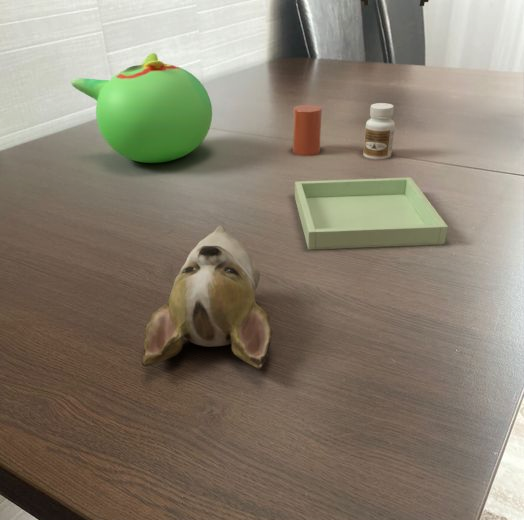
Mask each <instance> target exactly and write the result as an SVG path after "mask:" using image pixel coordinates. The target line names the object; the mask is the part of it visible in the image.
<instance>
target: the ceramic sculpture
mask: <svg viewBox="0 0 524 520" xmlns="http://www.w3.org/2000/svg"><path fill="white" fill-rule="evenodd" d="M260 278H261V273H260V268H259V267H258V266H257V265H256V263H255V262H254V260H253V258H252V256H251V255H250V253H249V252H248V251H247V249H246V248H245V247H244V246H243V245H242V243H241V242H240V241H239V240H238V239H237V238H235V237H234V235H233V236H232V234H230V232H228V231H227V229H226V228H225V227H224V226H223V225H218V226H217V227H216V228H215V230H214V231H212V232H211V233H210V234H208V235H207V236H205V238H202V239H201V240H200V241H199V242H198V243H197V245H196V246H195V247H194V248H193V249H192V250H191V251H190V252H189V254H188V256H187V258H186V260H185V262H184V263H183V265H182V267H181V268H180V271H179V273H178V274H177V276H176V277H175V279H174V281H173V286H172V289H171V291H170V295H169V299H168V301H167V303H165V304H164V305H163V306H161V307H158V309H156V310H155V311H154V312H153V313H152V314H151V316H150V319H149V322H148V323H147V325H146V326H145V329H144V339H143V341H144V342H143V353H142V355H143V357H142V359H141V365H142V366H143V367H150V366H153V365H155V364H159V363H161V362H164V361H166V360H169V359H171V358H173V357H176V356H177V355H178V354H179V353H180V352H181V351H182V349H183V346H184V340H185V339H186V340H187V341H189V342H190V343H192V344H194V345H197V346H202V347H207V348H208V347H209V348H211V347H213V348H214V347H223V346H228V345H231V351H232V353H233V355H234V356H235V357H237V358H239V359H240V360H242V361H243V362H245V363H246V364H249V366H252V367H254V368H255V369H257V370H260V369H262V367H263V366H264V364H265V362H266V361H267V359H268V357H269V354H270V350H271V349H270V347H271V343H272V337H273V328H272V326H271V322H270V321H271V318H270V316H269V314H268V312H266V310H265V309H263V307H261V306H260V305H258V304H257V302H256V299H255V296H256V290H257V288H258V286H259V282H260Z"/></svg>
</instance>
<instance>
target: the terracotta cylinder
mask: <svg viewBox="0 0 524 520" xmlns="http://www.w3.org/2000/svg"><path fill="white" fill-rule="evenodd" d="M322 108H323V107H322V106H319V105H315V104H300V105H296V106H293V113H292V114H293V124H292V153H293V154H295V155H297V156H302V157H303V156H304V157H305V156H306V157H307V156H310V157H311V156H315V155H318V154H319V153H320V152H321V138H322V137H321V135H322V110H323V109H322Z"/></svg>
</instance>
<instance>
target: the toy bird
mask: <svg viewBox="0 0 524 520" xmlns="http://www.w3.org/2000/svg"><path fill="white" fill-rule="evenodd" d="M70 84H71V86H72V87H73V88H75V89H76V90H77V91H79V92H81V93H83V94H85V95H86V96H88V97H90V98H92V99H94V100H95V101H97V102H96V107H95V108H96V109H95V116H96V122H97V126H98V129H99V131H100V134H101V135H102V137H103V139H104V140H105V142H106V143H107V144H108V145H109V147H110V148H111V149H112V150H114V152H116V153H117V154H119V155H120V156H122V157H124V158H126V159H128V160H131V161H133V162H137V163H144V164H160V163H167V162H172V161H175V160H177V159H180V158H182V157H184V156H187V155H189V154H190V153H192V152H193V151H194V150H195V149H197V148H198V147H199V146H200V145H201V144H202V143H203V141H204V140H205V139H206V138H207V136H208V134H209V131H210V128H211V125H212V118H213V107H212V106H213V105H212V101H211V98H210V96H209V93H208V92H207V90H206V88H205V86H204V85H203V83H201V81H200V80H199V79H198V78H197V77H196V76H195V75H194V74H192V73H191V72H190V71H188V70H187V69H184V68H182V67H180V66H176V65H174V64H169V63H164V62H163V61H161V60H159V58H158V55H157V54H156V53H154V52H153V53H150V54H148V56H146V57H145V58H144V60H143V61H142V62H141V64H138V65H137V64H136V65H132V66H129V67H127V68H126V69H124V70H122V71H120V72H118V73H117V74H115V75H114V76H112V77H111V78H109V79H108V80H107V79H96V78H74V79H72V80H71V81H70Z"/></svg>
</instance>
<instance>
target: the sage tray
mask: <svg viewBox="0 0 524 520" xmlns="http://www.w3.org/2000/svg"><path fill="white" fill-rule="evenodd" d="M294 200H295V203H296V207H297V212H298V216H299V220H300V223H301V227H302V231H303V234H304V238H305V243H306V246H307V250H330V249H331V250H332V249H333V250H334V249H357V248H359V249H360V248H381V247H383V248H385V247H407V246H408V247H410V246H430V245H431V246H433V245H445V244H446V239H447V233H448V228H449V226H448V225H447V223H446V222H445V221H444V219H443V218H442V217H441V215H440V214H439V212H438V211H437V210H436V209H435V207H434V206H433V205H432V204H431V202H430V201H429V200H428V198H427V197H426V195H425V194H424V193H423V191H422V190H421V189H420V188H419V185H417V184H416V182H415V181H414V180H413V178H412V177H385V178H358V179H357V178H356V179H353V178H352V179H329V180H328V179H327V180H303V181H302V180H300V181H299V180H298V181H294Z"/></svg>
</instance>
